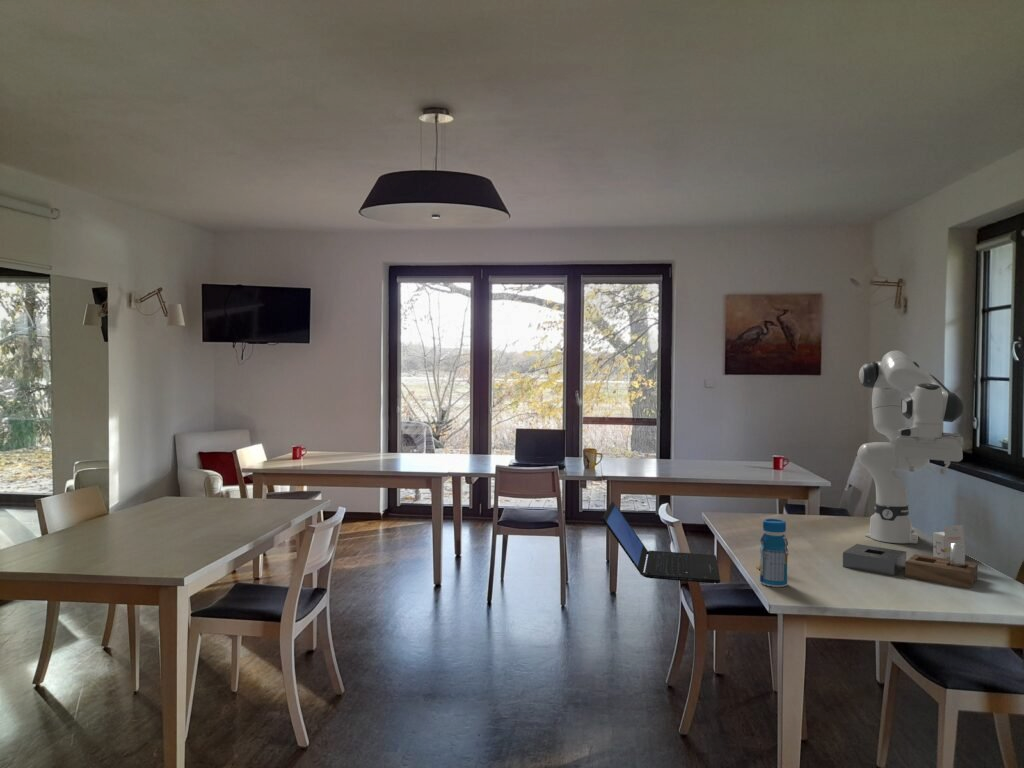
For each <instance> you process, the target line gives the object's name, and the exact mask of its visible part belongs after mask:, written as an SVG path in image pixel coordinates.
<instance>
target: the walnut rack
mask: <svg viewBox="0 0 1024 768" xmlns="http://www.w3.org/2000/svg"><path fill="white" fill-rule="evenodd" d="M978 565H979V564H978V563H977V562H971V561H965V568H959V567H953V566H950V559H946V558H940V557H933V556H932V555H925V554H920V553H914V554H913V555H912V556H911V557H909V558H908V559H906V562H905V567H904V570H905V571H904V578H907V579H908V578H910V579H916V580H920V581H926V582H931V583H937V584H942V585H948V586H954V587H958V588H959V587H960V588H963V589H965V588H966V589H971V587H973V585H974V584H975V582H976V581H977V580H978V576H979V575H978V569H979V568H978V567H979V566H978Z"/></svg>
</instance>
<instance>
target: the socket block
mask: <svg viewBox="0 0 1024 768" xmlns="http://www.w3.org/2000/svg"><path fill="white" fill-rule="evenodd" d="M906 561H907V551H904V550H899V549H898V550H897V549H892V548H885V547H880V546H873V545H866V544H860V543H856V544H854V545H853V546H851V547H849V548H847V549H846V550H845V551H843V552H842V568H848V569H855V570H860V571H865V572H870V573H876V574H882V575H888V576H896V575H897V574H899V572H901V571H902V570H903V569H905V562H906Z"/></svg>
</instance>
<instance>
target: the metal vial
mask: <svg viewBox="0 0 1024 768" xmlns="http://www.w3.org/2000/svg"><path fill="white" fill-rule="evenodd" d="M965 562H966V544H965V542H964V543H959V542H951V545H950V566H953V567H959V568H965Z"/></svg>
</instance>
